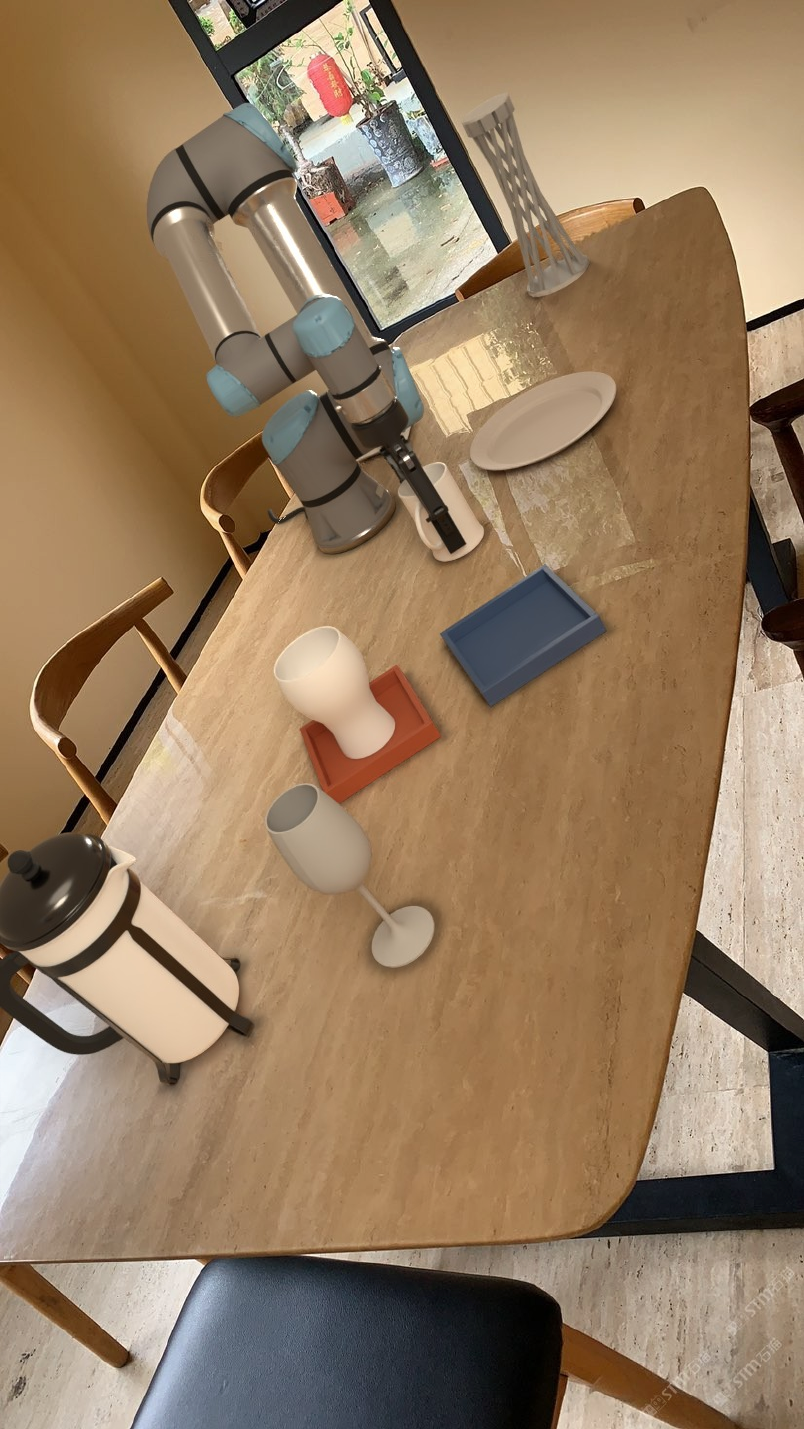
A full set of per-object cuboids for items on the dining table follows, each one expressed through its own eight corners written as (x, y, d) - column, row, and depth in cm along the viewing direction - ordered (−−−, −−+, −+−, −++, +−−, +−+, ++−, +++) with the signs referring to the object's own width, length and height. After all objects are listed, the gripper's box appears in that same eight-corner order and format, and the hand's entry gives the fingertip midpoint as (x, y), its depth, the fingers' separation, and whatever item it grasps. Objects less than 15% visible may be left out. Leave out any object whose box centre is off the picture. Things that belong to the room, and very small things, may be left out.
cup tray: (309, 741, 140) (299, 728, 138) (406, 677, 139) (397, 663, 138) (334, 806, 127) (323, 793, 126) (441, 736, 126) (431, 722, 125)
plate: (646, 409, 157) (641, 397, 156) (500, 499, 160) (495, 489, 159) (585, 366, 178) (581, 356, 177) (458, 447, 181) (452, 437, 180)
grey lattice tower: (517, 301, 216) (439, 136, 197) (549, 265, 222) (477, 101, 202) (568, 290, 207) (492, 114, 187) (601, 253, 212) (530, 78, 192)
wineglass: (444, 903, 106) (338, 771, 95) (424, 969, 102) (310, 838, 90) (384, 906, 110) (275, 780, 99) (361, 969, 106) (244, 844, 94)
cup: (332, 728, 138) (270, 648, 130) (402, 694, 136) (343, 610, 127) (334, 780, 130) (267, 698, 121) (409, 745, 127) (346, 658, 119)
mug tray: (448, 646, 139) (439, 633, 138) (552, 577, 138) (544, 563, 137) (490, 707, 125) (481, 693, 124) (606, 630, 124) (599, 615, 123)
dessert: (365, 436, 206) (353, 416, 203) (418, 412, 201) (406, 391, 198) (355, 467, 198) (342, 447, 195) (410, 444, 192) (397, 422, 190)
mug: (465, 571, 150) (426, 506, 144) (418, 580, 155) (378, 517, 149) (492, 520, 157) (456, 455, 150) (445, 530, 162) (409, 467, 155)
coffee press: (193, 950, 121) (16, 786, 104) (287, 974, 110) (106, 796, 94) (105, 1087, 112) (-104, 932, 95) (198, 1127, 102) (-19, 961, 85)
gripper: (332, 405, 152) (405, 524, 165) (370, 448, 134) (449, 578, 146) (375, 376, 151) (445, 498, 164) (418, 415, 133) (494, 548, 146)
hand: (447, 535), depth 155 cm, fingers closed on mug, 9 cm apart
